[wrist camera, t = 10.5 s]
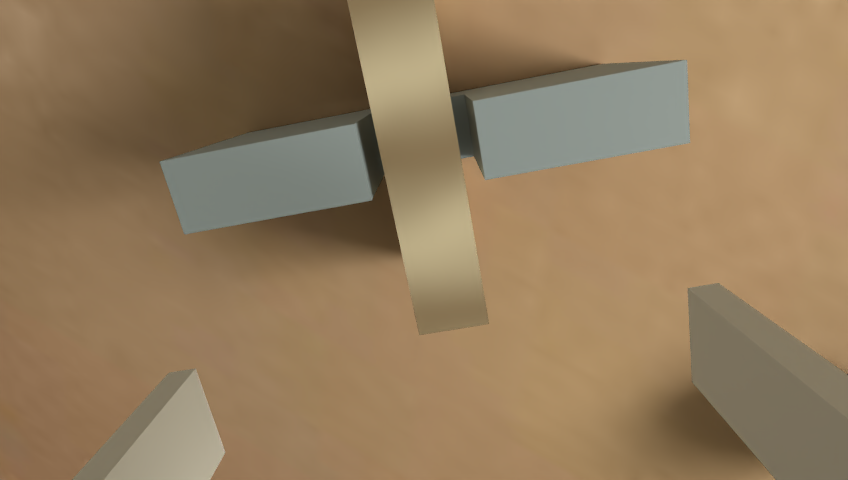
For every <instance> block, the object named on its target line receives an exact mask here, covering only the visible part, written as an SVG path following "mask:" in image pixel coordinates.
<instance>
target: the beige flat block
mask: <svg viewBox="0 0 848 480" xmlns="http://www.w3.org/2000/svg"><path fill="white" fill-rule="evenodd" d="M347 3H348V7H349V12H350V16H351V21H352V26H353V30H354V35H355V40H356V44H357V49H358V53H359V58H360V63H361V67H362V72H363V77H364V81H365V86H366V91H367V95H368V100H369V104H370V109H371V114H372V118H373V123H374V128H375V132H376V137H377V141H378V146H379V151H380V155H381V160H382V165H383V169H384V174H385V179H386V183H387V188H388V192H389V197H390V202H391V206H392V211H393V216H394V220H395V225H396V230H397V234H398V239H399V243H400V248H401V253H402V257H403V262H404V267H405V271H406V276H407V280H408V285H409V290H410V294H411V299H412V304H413V308H414V313H415V318H416V322H417V327H418V331H419V335H424V334H430V333H436V332H443V331H449V330H455V329H461V328H467V327H473V326H480V325H486V324H489V321H488V315H487V309H486V303H485V297H484V291H483V285H482V279H481V274H480V268H479V262H478V256H477V250H476V244H475V238H474V232H473V227H472V221H471V215H470V209H469V203H468V197H467V191H466V185H465V179H464V174H463V168H462V162H461V156H460V150H459V144H458V138H457V132H456V126H455V121H454V115H453V109H452V103H451V97H450V91H449V85H448V79H447V74H446V68H445V62H444V56H443V50H442V44H441V38H440V32H439V26H438V21H437V15H436V9H435V3H434V0H347Z"/></svg>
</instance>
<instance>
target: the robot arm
mask: <svg viewBox="0 0 848 480" xmlns="http://www.w3.org/2000/svg"><path fill="white" fill-rule="evenodd" d="M688 306H689V328H690V349H691V370H692V383H693V384H694V385H695V386H696V387H697V388H698V390H699V391H700V392H701V393H702V394H703V395H704V397H705V398H706V399H707V400H708V401H709V402H710V403H711V405H712V406H713V407H714V408H715V409H716V410H717V412H718V413H719V414H720V415H721V416H722V417H723V419H724V420H725V421H726V422H727V423H728V424H729V426H730V427H731V428H732V429H733V430H734V431H735V433H736V434H737V435H738V436H739V437H740V438H741V440H742V441H743V442H744V443H745V444H746V445H747V447H748V448H749V449H750V450H751V451H752V452H753V454H754V455H755V456H756V457H757V458H758V459H759V461H760V462H761V463H762V464H763V465H764V466H765V468H766V469H767V470H768V471H769V472H770V473H771V475H772V476H773V477H774V478H775V479H776V480H848V374H846V373H844V372H843V371H841V370H840V369H839V368H837V367H836V366H834V365H833V364H832V363H830V362H829V361H827V360H826V359H825V358H823V357H822V356H820V355H819V354H818V353H816V352H815V351H813V350H812V349H810V348H809V347H808V346H806V345H805V344H803V343H802V342H801V341H799V340H798V339H796V338H795V337H794V336H792V335H791V334H789V333H788V332H787V331H785V330H784V329H782V328H781V327H780V326H778V325H777V324H775V323H774V322H772V321H771V320H770V319H768V318H767V317H765V316H764V315H763V314H761V313H760V312H758V311H757V310H756V309H754V308H753V307H751V306H750V305H749V304H747V303H746V302H744V301H743V300H741V299H740V298H739V297H737V296H736V295H734V294H733V293H732V292H730V291H729V290H727V289H726V288H725V287H723V286H722V285H720V284H719V283H716V284H710V285H704V286H698V287H692V288H688ZM224 454H225V450H224V447H223V445H222V442H221V439H220V436H219V433H218V430H217V428H216V425H215V422H214V419H213V416H212V413H211V411H210V408H209V405H208V402H207V399H206V397H205V394H204V391H203V388H202V385H201V382H200V380H199V377H198V374H197V371H196V369H190V370H183V371H177V372H171V373H168V374H167V375H166V377H165V378H164V379H163V380H162V381H161V382H160V383H159V384H158V385H157V386H156V388H155V389H154V390H153V391H152V392H151V393H150V394H149V395H148V396H147V398H146V399H145V400H144V401H143V402H142V403H141V404H140V405H139V406H138V407H137V409H136V410H135V411H134V412H133V413H132V414H131V415H130V416H129V417H128V419H127V420H126V421H125V422H124V423H123V424H122V425H121V426H120V427H119V428H118V430H117V431H116V432H115V433H114V434H113V435H112V436H111V437H110V438H109V440H108V441H107V442H106V443H105V444H104V445H103V446H102V447H101V448H100V449H99V451H98V452H97V453H96V454H95V455H94V456H93V457H92V458H91V459H90V461H89V462H88V463H87V464H86V465H85V466H84V467H83V468H82V469H81V470H80V472H79V473H78V474H77V475H76V476H75V477H74V478H73V479H72V480H210V479H211V477H212V475H213V474H214V472H215V470H216V468H217V466H218V465H219V463H220V461H221V459H222V457H223V456H224Z"/></svg>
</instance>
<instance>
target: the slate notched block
mask: <svg viewBox="0 0 848 480" xmlns="http://www.w3.org/2000/svg"><path fill="white" fill-rule="evenodd" d="M450 97H451V103H452V109H453V115H454V121H455V126H456V132H457V138H458V144H459V150H460V156H461V159H462V158H467V157H472V156H474V157H475V159H476V161H477V164H478V166H479V168H480V170H481V172H482V174H483V176H484V179H485V180H488V179H493V178H499V177H505V176H510V175H516V174H521V173H527V172H532V171H538V170H543V169H549V168H554V167H560V166H565V165H571V164H576V163H582V162H587V161H593V160H598V159H604V158H610V157H615V156H621V155H626V154H632V153H637V152H643V151H648V150H654V149H659V148H665V147H670V146H676V145H681V144H687V143H690V130H689V102H688V73H687V60H674V61H652V62H631V63H610V64H599V65H594V66H589V67H584V68H578V69H573V70H568V71H563V72H558V73H553V74H548V75H542V76H537V77H532V78H527V79H522V80H517V81H512V82H506V83H501V84H496V85H491V86H486V87H481V88H476V89H470V90H465V91H460V92H455V93H450ZM160 164H161V167H162V170H163V173H164V176H165V179H166V182H167V185H168V188H169V191H170V194H171V197H172V199H173V202H174V205H175V208H176V211H177V214H178V217H179V220H180V223H181V226H182V229H183V232H184V234H190V233H195V232H201V231H206V230H212V229H217V228H223V227H228V226H234V225H239V224H245V223H250V222H256V221H261V220H267V219H272V218H278V217H283V216H289V215H295V214H300V213H306V212H311V211H317V210H322V209H328V208H333V207H339V206H344V205H350V204H355V203H361V202H366V201H372V199H373V197H374V195H375V193H376V191H377V188H378V186H379V184H380V182H381V180H382V178H383V176H384V169H383V165H382V160H381V155H380V151H379V146H378V141H377V137H376V132H375V128H374V123H373V118H372V114H371V109H368V110H362V111H357V112H352V113H347V114H342V115H337V116H332V117H326V118H321V119H316V120H311V121H306V122H301V123H296V124H290V125H285V126H280V127H275V128H270V129H265V130H260V131H254V132H249V133H246V134H242V135H239V136H236V137H233V138H230V139H227V140H224V141H221V142H218V143H215V144H212V145H209V146H206V147H203V148H200V149H196V150H193V151H190V152H187V153H184V154H181V155H178V156H175V157H172V158H169V159H166V160H163V161H160Z"/></svg>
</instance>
